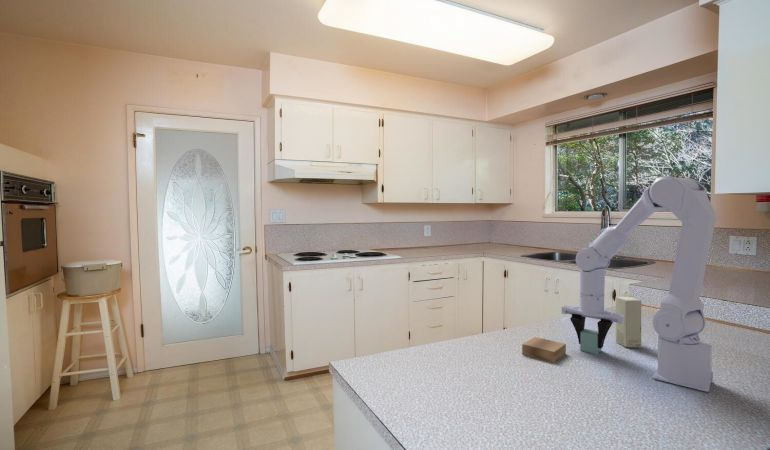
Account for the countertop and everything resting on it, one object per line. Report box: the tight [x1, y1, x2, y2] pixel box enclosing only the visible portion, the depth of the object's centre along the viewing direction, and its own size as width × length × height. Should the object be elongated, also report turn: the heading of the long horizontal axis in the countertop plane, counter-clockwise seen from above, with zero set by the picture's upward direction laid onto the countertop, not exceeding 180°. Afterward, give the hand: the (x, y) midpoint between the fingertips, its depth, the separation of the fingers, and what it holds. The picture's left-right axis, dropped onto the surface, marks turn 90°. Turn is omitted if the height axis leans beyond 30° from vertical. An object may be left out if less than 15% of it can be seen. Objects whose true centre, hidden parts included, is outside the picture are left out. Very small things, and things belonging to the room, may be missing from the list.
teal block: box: [579, 328, 602, 355], centre depth 102 cm, size 4×4×5 cm
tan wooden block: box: [521, 336, 567, 363], centre depth 99 cm, size 8×8×3 cm
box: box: [615, 296, 642, 348], centre depth 106 cm, size 5×4×13 cm
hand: (590, 345), depth 102 cm, fingers closed on teal block, 4 cm apart
